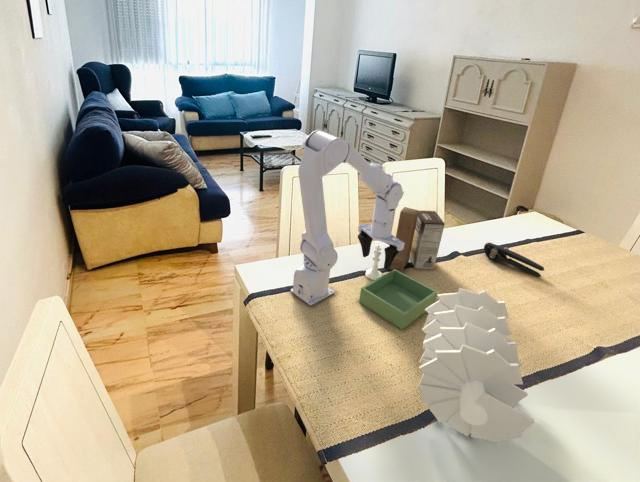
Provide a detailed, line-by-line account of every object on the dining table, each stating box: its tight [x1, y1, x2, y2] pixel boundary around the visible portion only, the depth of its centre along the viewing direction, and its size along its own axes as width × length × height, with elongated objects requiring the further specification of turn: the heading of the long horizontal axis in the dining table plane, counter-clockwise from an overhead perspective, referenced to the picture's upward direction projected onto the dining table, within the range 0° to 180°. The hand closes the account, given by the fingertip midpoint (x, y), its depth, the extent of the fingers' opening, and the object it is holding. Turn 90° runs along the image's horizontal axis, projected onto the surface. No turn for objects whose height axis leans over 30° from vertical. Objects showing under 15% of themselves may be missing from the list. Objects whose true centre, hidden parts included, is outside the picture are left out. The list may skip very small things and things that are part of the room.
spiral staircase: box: [416, 287, 536, 443], centre depth 74 cm, size 18×18×25 cm
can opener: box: [483, 242, 545, 278], centre depth 123 cm, size 18×7×6 cm, turn 42°
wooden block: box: [386, 206, 420, 273], centre depth 117 cm, size 9×4×18 cm, turn 148°
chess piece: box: [365, 245, 383, 281], centre depth 113 cm, size 5×5×10 cm
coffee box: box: [409, 209, 446, 270], centre depth 120 cm, size 9×6×16 cm
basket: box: [358, 269, 438, 330], centre depth 102 cm, size 15×13×4 cm
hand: (376, 261), depth 113 cm, fingers open, 7 cm apart
